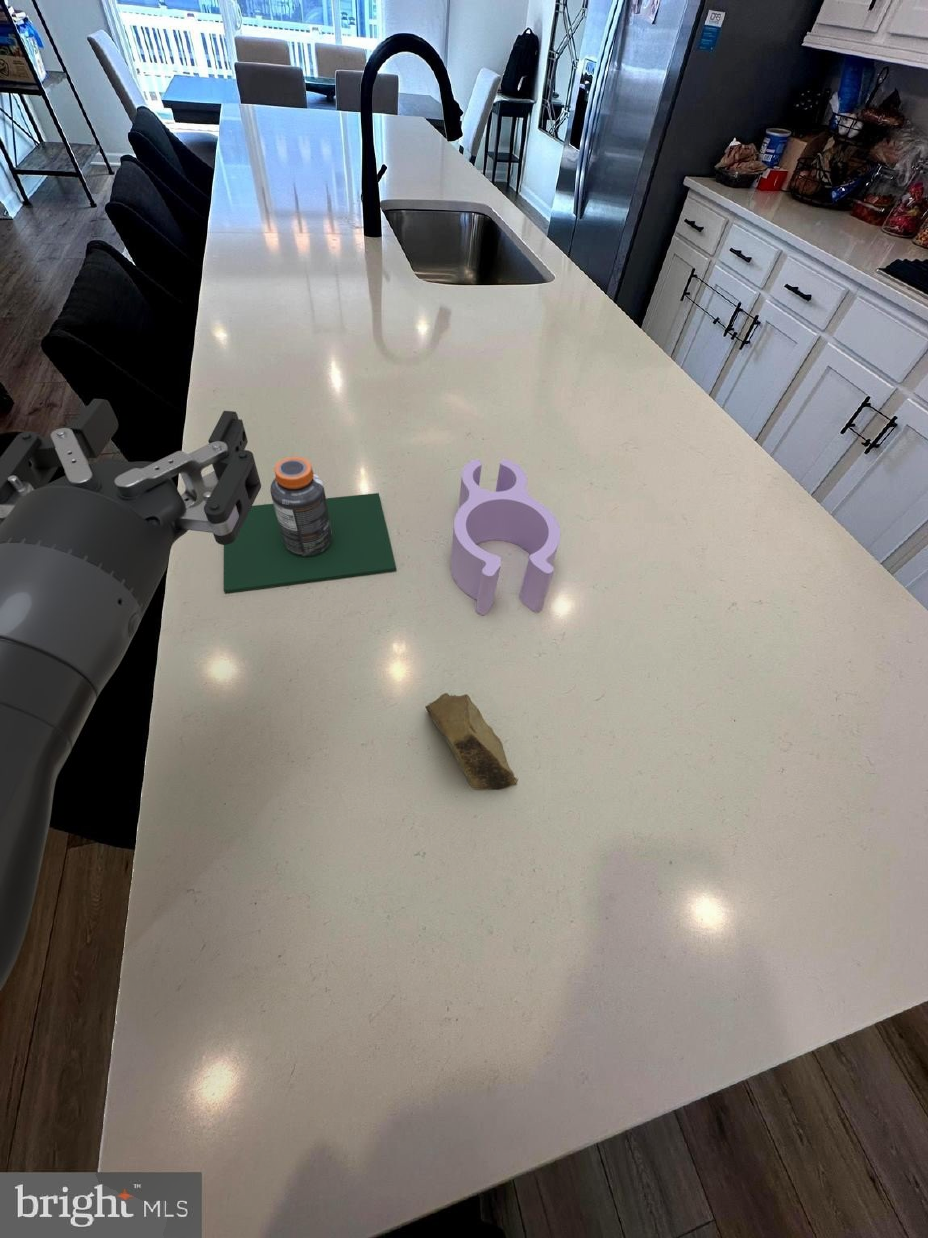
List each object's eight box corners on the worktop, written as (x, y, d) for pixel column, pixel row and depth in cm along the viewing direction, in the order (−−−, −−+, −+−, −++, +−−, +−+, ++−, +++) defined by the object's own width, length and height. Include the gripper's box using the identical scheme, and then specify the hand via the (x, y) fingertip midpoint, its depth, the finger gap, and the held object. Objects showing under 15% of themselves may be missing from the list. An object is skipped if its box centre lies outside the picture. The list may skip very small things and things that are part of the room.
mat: (224, 593, 64) (223, 590, 64) (225, 511, 72) (223, 508, 72) (396, 571, 69) (396, 567, 68) (378, 496, 77) (378, 492, 76)
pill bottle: (331, 522, 72) (320, 448, 63) (333, 556, 68) (321, 482, 59) (284, 525, 71) (265, 450, 62) (283, 559, 67) (263, 485, 58)
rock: (398, 691, 56) (402, 782, 49) (452, 642, 52) (465, 734, 45) (477, 723, 62) (491, 808, 55) (532, 681, 57) (555, 768, 50)
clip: (439, 501, 77) (442, 459, 71) (527, 498, 79) (536, 458, 73) (458, 616, 65) (462, 577, 60) (561, 610, 67) (574, 571, 61)
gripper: (177, 559, 26) (265, 374, 36) (-144, 534, 25) (35, 353, 35) (220, 650, 32) (285, 469, 42) (-38, 631, 31) (90, 453, 41)
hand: (171, 416), depth 38 cm, fingers open, 8 cm apart
